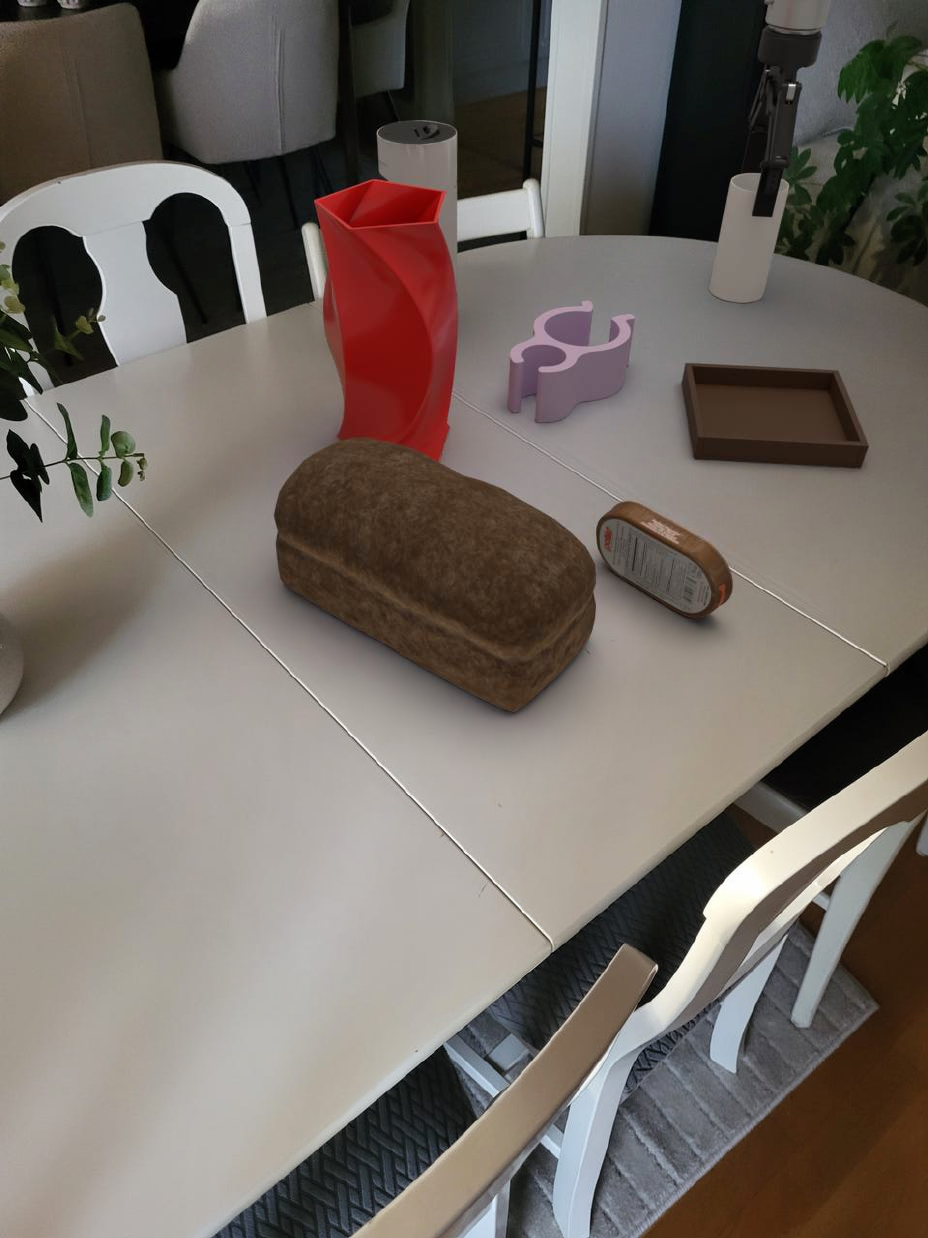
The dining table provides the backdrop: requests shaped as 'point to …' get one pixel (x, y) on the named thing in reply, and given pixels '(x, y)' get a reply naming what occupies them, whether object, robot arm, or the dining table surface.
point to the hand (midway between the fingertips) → (755, 197)
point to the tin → (664, 559)
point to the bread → (437, 567)
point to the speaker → (424, 167)
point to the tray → (771, 415)
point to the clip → (568, 362)
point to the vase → (390, 312)
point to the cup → (745, 242)
